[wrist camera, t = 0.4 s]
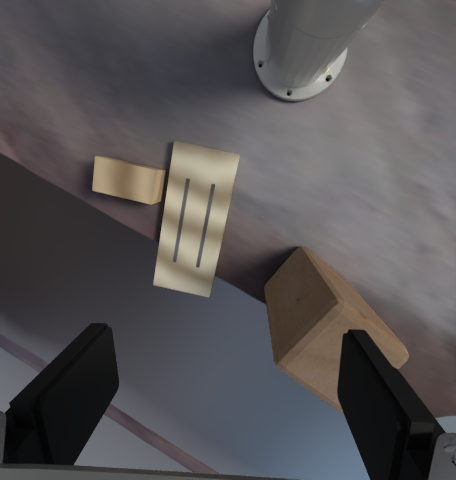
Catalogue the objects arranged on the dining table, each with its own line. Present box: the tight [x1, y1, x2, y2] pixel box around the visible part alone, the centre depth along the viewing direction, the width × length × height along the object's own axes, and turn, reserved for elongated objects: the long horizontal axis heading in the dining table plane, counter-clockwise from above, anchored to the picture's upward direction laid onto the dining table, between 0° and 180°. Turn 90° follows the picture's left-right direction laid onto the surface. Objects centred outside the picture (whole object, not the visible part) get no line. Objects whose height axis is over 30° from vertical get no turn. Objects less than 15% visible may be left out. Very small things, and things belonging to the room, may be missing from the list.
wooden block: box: [264, 246, 409, 412], centre depth 36 cm, size 10×10×20 cm
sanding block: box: [92, 156, 166, 205], centre depth 41 cm, size 9×5×5 cm, turn 77°
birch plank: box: [153, 141, 240, 297], centre depth 44 cm, size 24×10×2 cm, turn 168°
